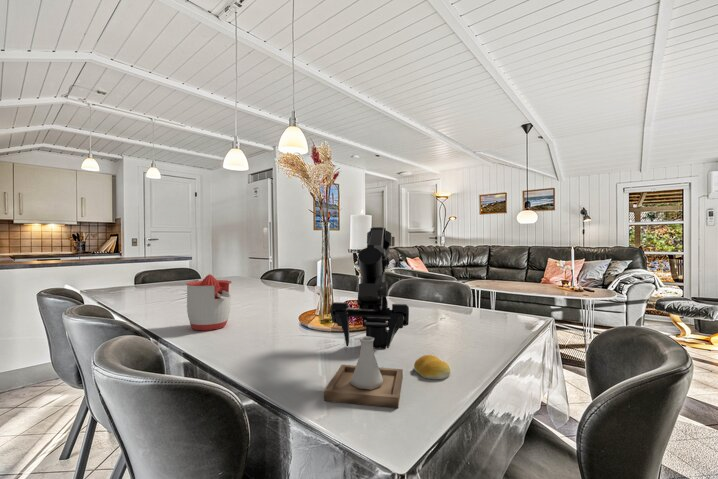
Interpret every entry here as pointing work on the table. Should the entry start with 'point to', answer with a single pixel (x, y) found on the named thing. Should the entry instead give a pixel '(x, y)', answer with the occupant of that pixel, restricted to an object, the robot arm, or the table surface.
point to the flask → (367, 367)
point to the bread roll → (432, 367)
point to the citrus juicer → (208, 303)
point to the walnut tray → (379, 396)
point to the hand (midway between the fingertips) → (367, 346)
